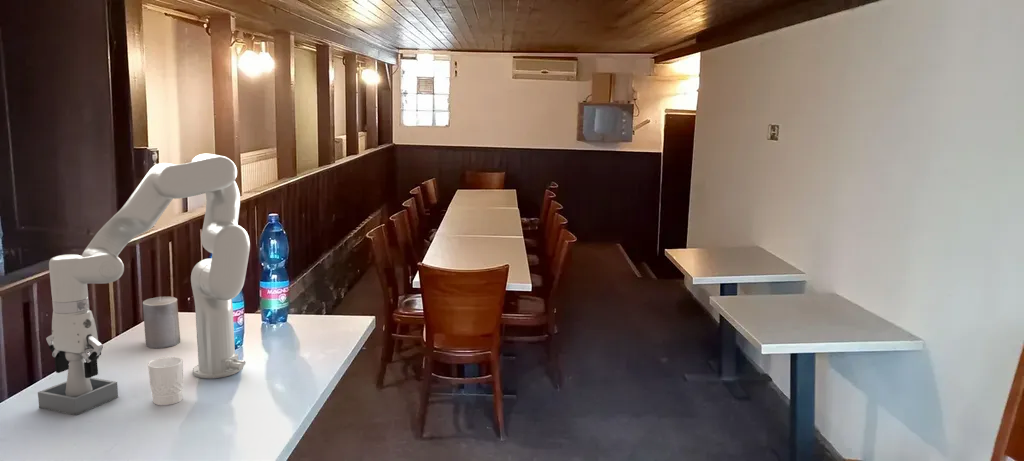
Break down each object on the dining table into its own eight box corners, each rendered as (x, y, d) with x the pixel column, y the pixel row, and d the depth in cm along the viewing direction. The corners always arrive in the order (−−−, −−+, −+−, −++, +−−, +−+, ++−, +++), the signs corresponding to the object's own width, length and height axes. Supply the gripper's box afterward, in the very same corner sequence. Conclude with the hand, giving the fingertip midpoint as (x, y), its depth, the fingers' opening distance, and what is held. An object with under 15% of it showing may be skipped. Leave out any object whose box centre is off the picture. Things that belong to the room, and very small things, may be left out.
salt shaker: (81, 405, 180) (76, 354, 178) (60, 403, 181) (55, 352, 179) (98, 396, 186) (94, 346, 184) (78, 394, 187) (73, 344, 185)
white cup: (192, 396, 188) (189, 359, 186) (168, 408, 181) (166, 369, 179) (167, 392, 191) (165, 355, 189) (143, 403, 183) (140, 365, 182)
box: (118, 397, 187) (117, 381, 186) (76, 415, 176) (74, 399, 175) (82, 390, 191) (81, 375, 190) (39, 407, 180) (37, 392, 179)
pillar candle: (158, 337, 234) (154, 291, 232) (186, 339, 233) (183, 293, 230) (138, 347, 225) (134, 300, 222) (168, 349, 223) (164, 301, 221)
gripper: (111, 305, 180) (116, 373, 183) (58, 298, 186) (64, 364, 189) (84, 313, 173) (90, 383, 176) (30, 306, 179) (37, 374, 182)
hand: (77, 373), depth 182 cm, fingers open, 9 cm apart
